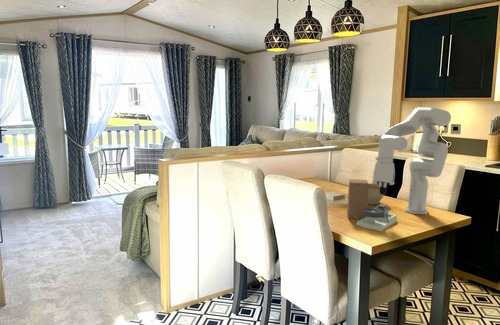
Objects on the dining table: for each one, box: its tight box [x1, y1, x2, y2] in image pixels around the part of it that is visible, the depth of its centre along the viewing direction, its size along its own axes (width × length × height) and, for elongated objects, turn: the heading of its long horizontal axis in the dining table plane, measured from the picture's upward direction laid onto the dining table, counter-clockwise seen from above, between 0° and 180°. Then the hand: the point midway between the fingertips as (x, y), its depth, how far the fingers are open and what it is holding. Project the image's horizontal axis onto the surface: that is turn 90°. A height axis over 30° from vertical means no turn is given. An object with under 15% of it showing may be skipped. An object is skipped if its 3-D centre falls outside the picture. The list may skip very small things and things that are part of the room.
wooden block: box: [346, 178, 369, 219], centre depth 216 cm, size 10×10×20 cm
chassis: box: [356, 211, 398, 232], centre depth 203 cm, size 22×13×8 cm, turn 139°
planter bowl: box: [367, 182, 385, 206], centre depth 245 cm, size 16×16×11 cm
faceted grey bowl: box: [363, 207, 383, 218], centre depth 198 cm, size 9×9×2 cm
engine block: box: [374, 203, 390, 218], centre depth 207 cm, size 6×5×7 cm
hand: (382, 194), depth 205 cm, fingers closed
